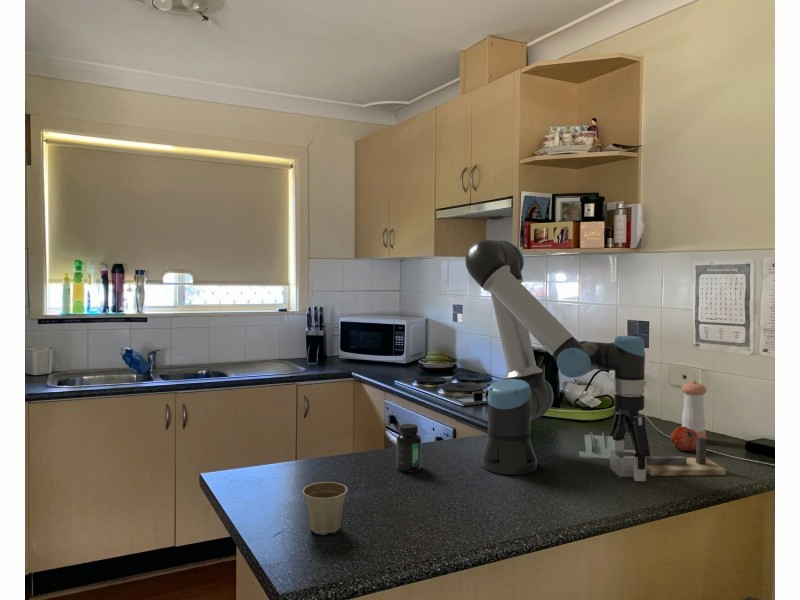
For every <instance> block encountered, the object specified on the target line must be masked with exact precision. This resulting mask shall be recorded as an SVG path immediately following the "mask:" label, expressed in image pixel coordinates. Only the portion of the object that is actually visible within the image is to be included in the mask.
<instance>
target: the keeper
mask: <svg viewBox="0 0 800 600" xmlns="http://www.w3.org/2000/svg"><path fill="white" fill-rule="evenodd" d="M646 458H647V462H646V474H648V475H650V476H651V477H653V476H654V477H657V476H658V477H659V476H661V477H662V476H666V477H667V476H726V473H727V472H726V471H727V470H726V468H725V467H723V466H720V465H719V464H717V463H715V462H714V461H713V460H710V459H709V458H707V438H706V439H705V438H703V437H696V449H695V457H685V456H684V455H670V456H669V455H658V456H656V455H654V456H653V455H650V456H647V457H646Z"/></svg>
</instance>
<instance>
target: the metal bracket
mask: <svg viewBox="0 0 800 600" xmlns="http://www.w3.org/2000/svg"><path fill="white" fill-rule="evenodd" d="M583 437H584V447H585V451H584V450H583V451H582V450H579V451H578V454H579V455H578V456H579V458H581V459H582V458H583V459H600V460H601V459H602V460H610V450H614V440H613V436H611V435H610V436H609V435H608V436H607V435H605V434H604V433H602V435H597V434H595V435H593V433H592V432H589V434H584V436H583ZM624 450H626V449H625V448H624Z"/></svg>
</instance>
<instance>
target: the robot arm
mask: <svg viewBox="0 0 800 600" xmlns="http://www.w3.org/2000/svg"><path fill="white" fill-rule="evenodd" d="M464 262H465V267H466V269H467V272H468V273H469V275H470V276H471V277H472V279H473V280H474V281H475V282H476V283H477V284H478V286H480V287H481V288H482V289H483V290H484V291H485V292H489V293H490V295H491V299H492V303H493V304H492V305H493V308H494V309H493V311H494V313H495V319H496V322H497V328H498V333H499V336H500V341H501V346H502V352H503V355H504V360H505V365H506V369H507V371H506V373H505V375H504V376H503V380H501V379H500V380H497V381H494V382H493V383H490V386H489V387H488V391H487V393H488V395H487V440H486V442H485V446H484V448H483V452H482V455H481V466H482V468H483V469H484V470H487V471H488V472H491V473H495V474H498V475H499V474H500V475H510V476H514V475H515V476H518V475H519V476H521V475H526V474H531V473H533V472H535V471H536V470H537V463H538V462H537V461H538V460H537V457H536V456H537V455H536V453H535V450H534V447H533V444H532V440H531V422H532V421H533V420H535V419H538V418H540V417H542V416H543V415H545V414H546V413H547V412H548V411H549V410H550V408H551V407H552V405H553V403H554V389H553V387H552V385H551V383H549V381H547V380H546V379H545V375H544V371H543V369H542V368H540V367H539V366H537V363H536V359H535V355H534V349H533V345H532V340H531V336H530V334H531V335H532V337H533V338H535V340H537V342H538V343H539V344H540V345H541V346H542V347H543V348H544V349H545V350H546V351H547V352H548V353H549V354H550V355H551V356H552V358H554V359H555V361H556V366H557V368H558V371H559V372H560V373H561V374H562V375H563V376H565V377H567V378H580V377H583V376H585V375H587V373H590V372H592V371H594V370H598V371H611V372H612V371H614V378H613V379H614V382H613V384H614V386H613V387H614V388H613V391H614V393H615V394H614V399H613V400H614V402H613V403H614V415H613V420H612V423H611V427H610V432H609V433H610V434H609V435H610V436H613V440H614V450H624V449H625V440H626V438H625V435H626V433H627V432H628V433H629V436H630V439H631V442H632V446H633V450H635V454H634V455H633V456H634V477H633V481H634V482H646V477H647V472H646V457H647V456H651V451H650V445H649V440H648V439H649V438H648V434H647V430H646V418H645V417H644V416H640V415H639V414H640V413H639V412H640V411H643V410H644V409H645V396H644V393H645V385H647V383H646V381H645V370H646V369H645V365H646V364H645V363H646V360H645V359H646V351H645V340H644V338H643V337H641V336H635V335H634V336H633V335H617V336H616V337H614V341H613V342H597V341H588V340H582V341H578V340H577V338H575V337H574V336H573V335H572V334H571V332H570V331H568V329H567V328H565V326H564V325H563V324H561V322H560V321H559V320H558V319H557V318H556V317H555V316H554V315H553V314H552V313H551V312H550V311H549V310H548V309H547V308H546V307H545V306H544V305H543V304H542V302H540V301H539V300H538V299H537V298H536V297H535V296H534V294H532V293H531V292H530V291H529V290H528V289H527V288H526V287H525V286H524V285H523V284H522V283H523V282H524V280H523V276H522V275H523V274H522V270H523V269H524V265H525V258H524V255H523V252H522V250H521V249H520V248H519V247H518V246H516V245H515V243H514V244H513V243H511V242H509V241H506V240H492V239H482V240H481V239H480V240H478V241H476V242H474V243H473V244H471V246H470V247H469V248H468V250H467V251H466V254H465V261H464Z"/></svg>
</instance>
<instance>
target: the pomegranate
mask: <svg viewBox="0 0 800 600" xmlns="http://www.w3.org/2000/svg"><path fill="white" fill-rule="evenodd" d="M696 437H697V434H696V432H695V431H694V430H691V429H688V428H687V427H682V426H678V427H675V429H674V430H673V431H672V433H671V435H670V439H671V442H672V443H673V446H674V448H675V449H677V450H679V451H681V452H693V451H696Z"/></svg>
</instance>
